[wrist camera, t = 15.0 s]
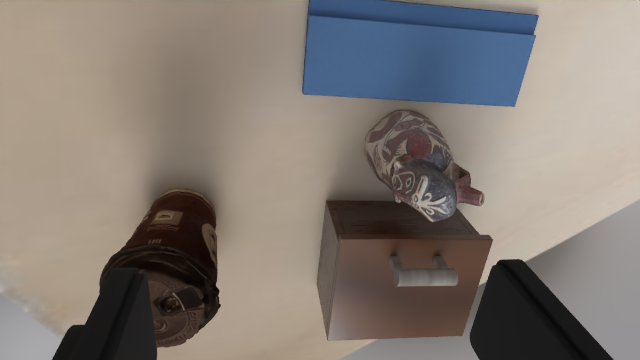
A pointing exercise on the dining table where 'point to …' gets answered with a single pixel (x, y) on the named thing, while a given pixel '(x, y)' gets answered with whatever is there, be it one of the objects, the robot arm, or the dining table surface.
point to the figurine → (419, 165)
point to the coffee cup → (175, 264)
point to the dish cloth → (416, 52)
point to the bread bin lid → (404, 285)
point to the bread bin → (374, 232)
